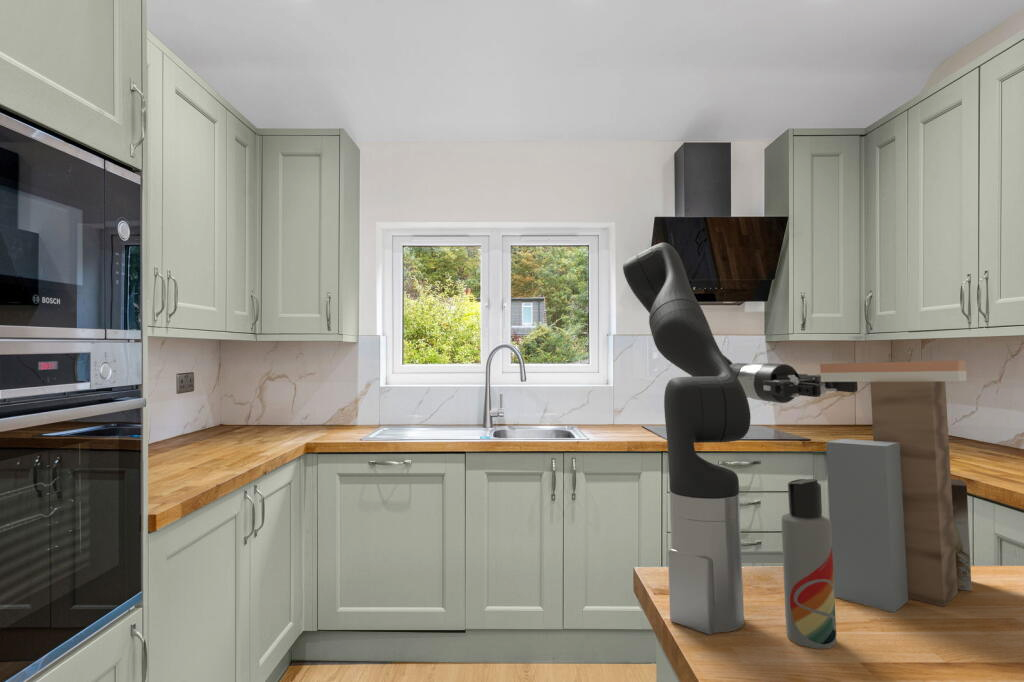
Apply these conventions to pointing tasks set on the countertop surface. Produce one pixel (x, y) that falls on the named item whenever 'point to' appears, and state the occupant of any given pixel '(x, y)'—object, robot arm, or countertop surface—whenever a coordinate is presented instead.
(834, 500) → the grey stand
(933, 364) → the bar
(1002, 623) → the countertop surface
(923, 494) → the walnut stand
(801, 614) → the lotion bottle
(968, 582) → the coffee box
